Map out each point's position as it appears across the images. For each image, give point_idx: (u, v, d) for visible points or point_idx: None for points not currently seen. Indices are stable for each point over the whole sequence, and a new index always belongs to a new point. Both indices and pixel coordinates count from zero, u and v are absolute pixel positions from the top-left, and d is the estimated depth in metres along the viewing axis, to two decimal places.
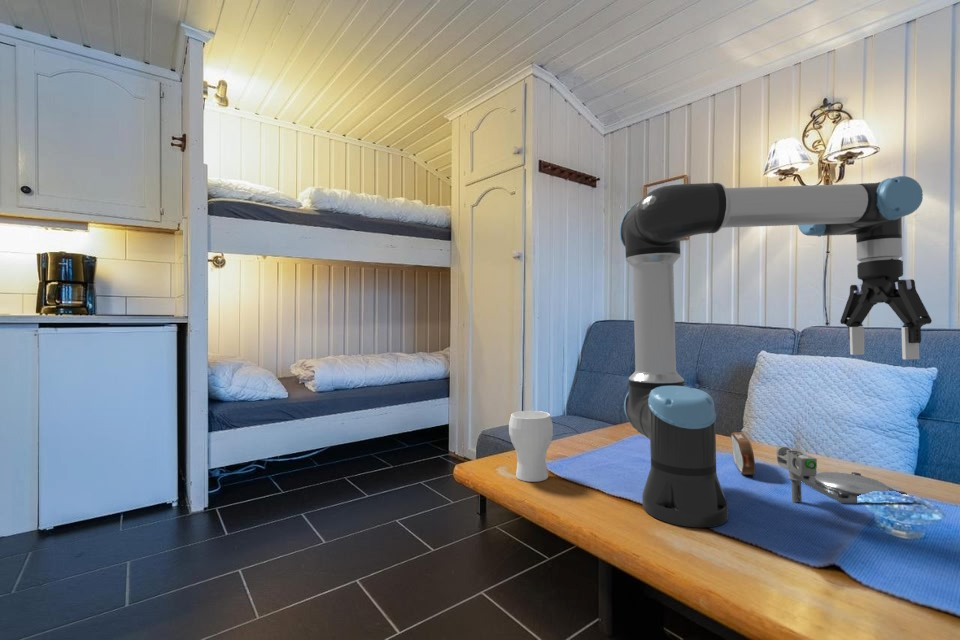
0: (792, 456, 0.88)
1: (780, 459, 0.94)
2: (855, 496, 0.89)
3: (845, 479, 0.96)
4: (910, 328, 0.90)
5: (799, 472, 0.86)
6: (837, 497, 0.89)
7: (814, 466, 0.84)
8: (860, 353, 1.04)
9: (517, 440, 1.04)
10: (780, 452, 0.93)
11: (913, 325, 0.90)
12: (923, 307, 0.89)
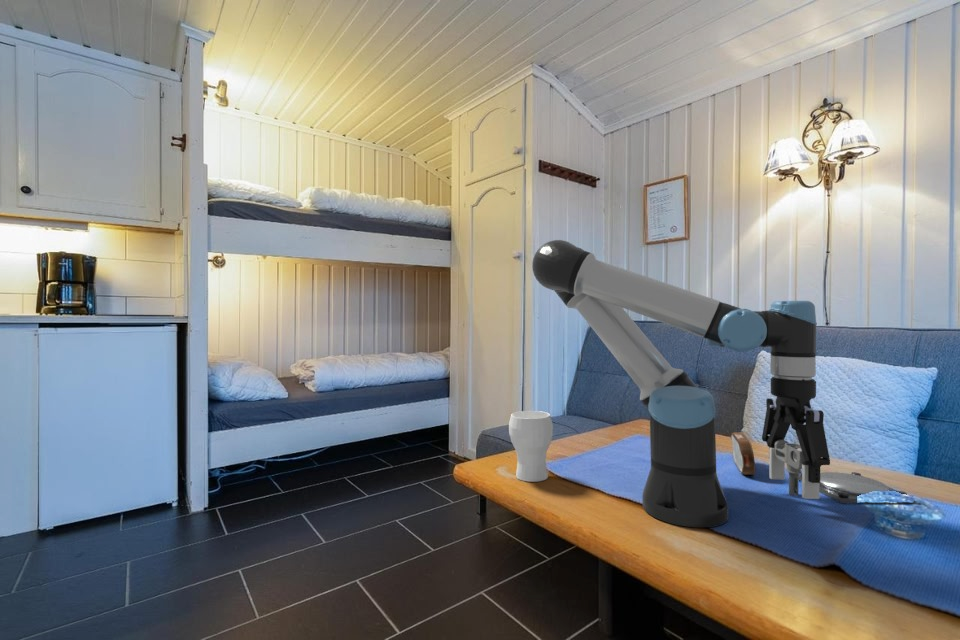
0: (790, 449, 0.88)
1: (778, 452, 0.94)
2: (855, 496, 0.89)
3: (845, 479, 0.96)
4: (809, 465, 0.84)
5: (797, 465, 0.86)
6: (837, 497, 0.89)
7: None
8: (780, 478, 0.94)
9: (517, 440, 1.04)
10: (778, 445, 0.93)
11: (812, 464, 0.83)
12: (825, 446, 0.82)
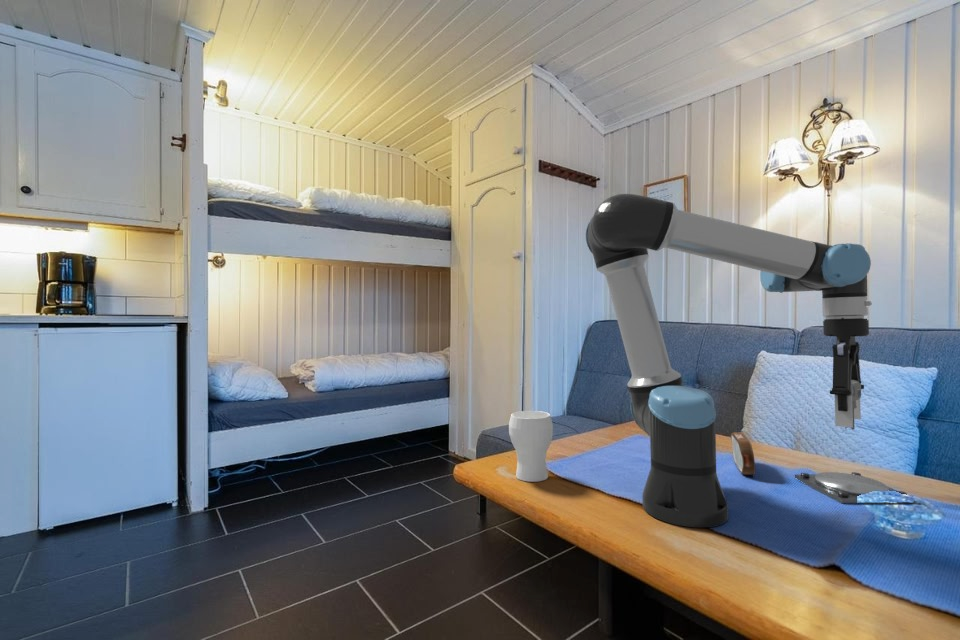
0: None
1: None
2: (855, 496, 0.89)
3: (845, 479, 0.96)
4: None
5: None
6: (837, 497, 0.89)
7: None
8: (854, 417, 0.98)
9: (517, 440, 1.04)
10: None
11: (837, 394, 0.91)
12: (846, 376, 0.89)
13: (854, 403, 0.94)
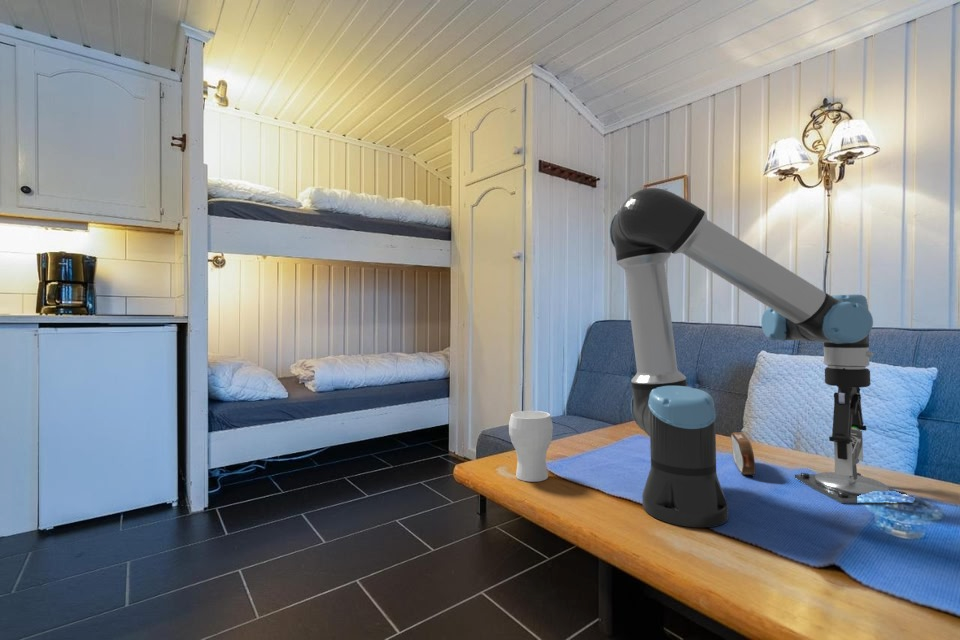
0: None
1: None
2: (855, 496, 0.89)
3: (845, 479, 0.96)
4: None
5: None
6: (837, 497, 0.89)
7: None
8: None
9: (517, 440, 1.04)
10: None
11: (836, 440, 0.90)
12: (846, 424, 0.88)
13: (856, 459, 0.94)
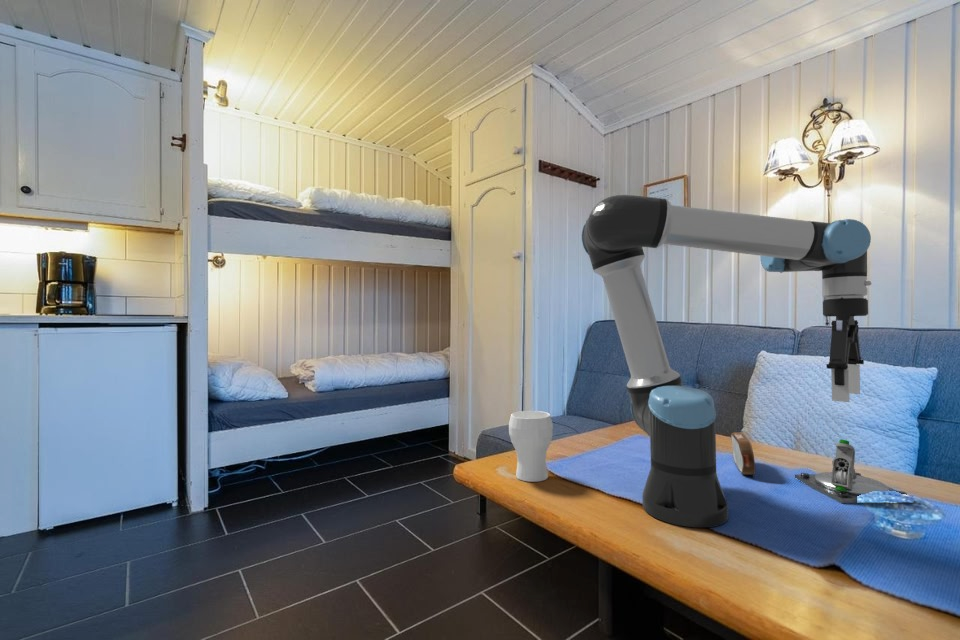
0: None
1: None
2: (855, 496, 0.89)
3: None
4: None
5: None
6: (837, 497, 0.89)
7: (843, 491, 0.89)
8: (854, 392, 0.99)
9: (517, 440, 1.04)
10: (838, 447, 0.93)
11: (834, 367, 0.90)
12: (843, 350, 0.88)
13: None
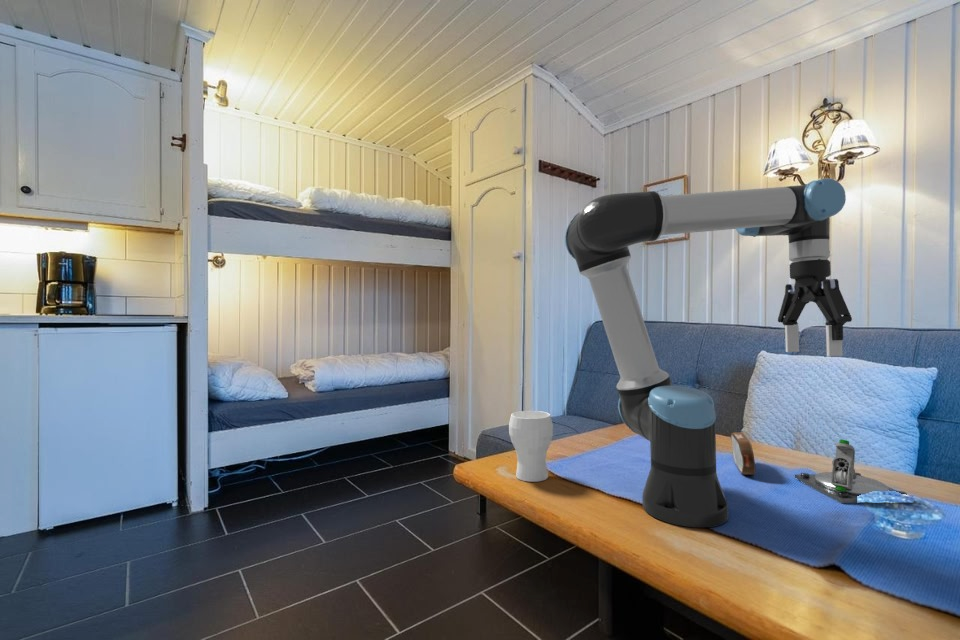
0: None
1: None
2: (855, 496, 0.89)
3: None
4: (833, 326, 0.94)
5: None
6: (837, 497, 0.89)
7: (843, 491, 0.89)
8: (795, 350, 1.08)
9: (517, 440, 1.04)
10: (838, 447, 0.93)
11: (835, 323, 0.93)
12: (845, 306, 0.92)
13: None
